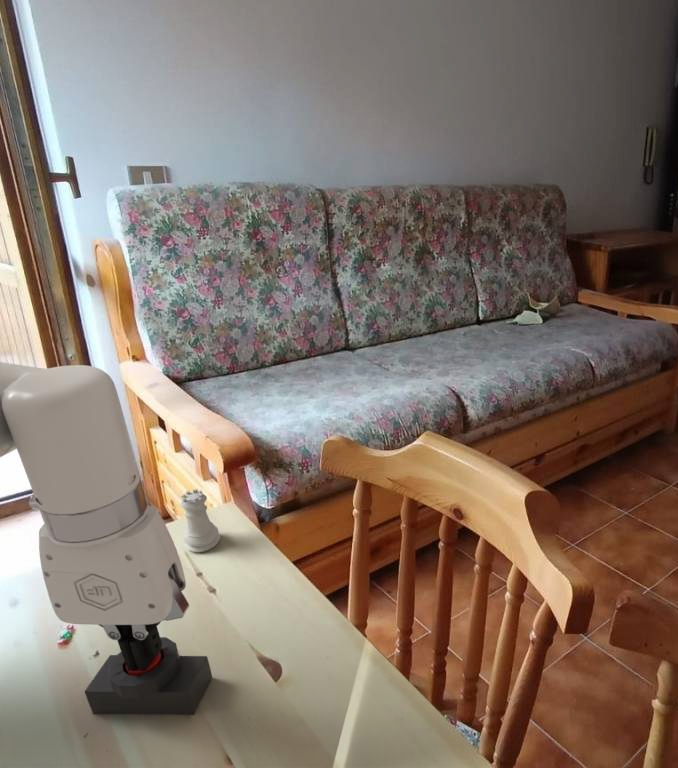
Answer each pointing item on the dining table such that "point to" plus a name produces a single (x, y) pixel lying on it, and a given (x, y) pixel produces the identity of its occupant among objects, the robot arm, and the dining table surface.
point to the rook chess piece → (198, 523)
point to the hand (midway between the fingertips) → (145, 658)
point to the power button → (153, 664)
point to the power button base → (151, 685)
